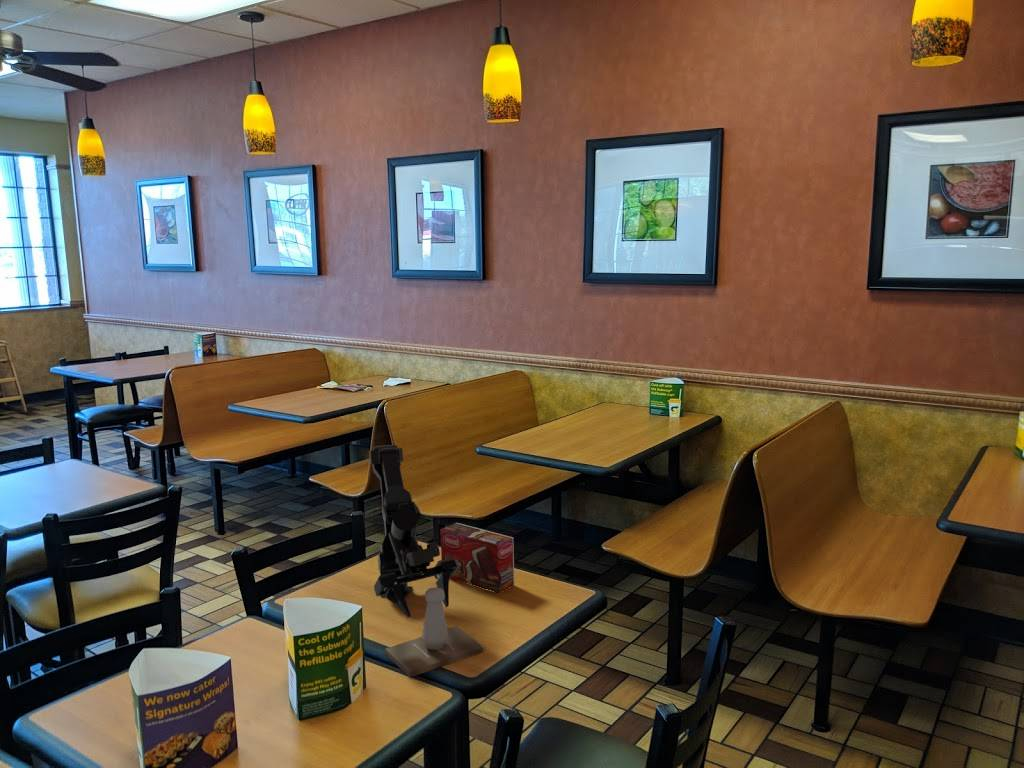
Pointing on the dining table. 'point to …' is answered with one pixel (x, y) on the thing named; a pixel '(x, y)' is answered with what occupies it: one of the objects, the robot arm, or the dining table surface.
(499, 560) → the ice cream box
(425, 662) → the marked board
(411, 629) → the dining table surface
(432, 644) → the salt shaker
